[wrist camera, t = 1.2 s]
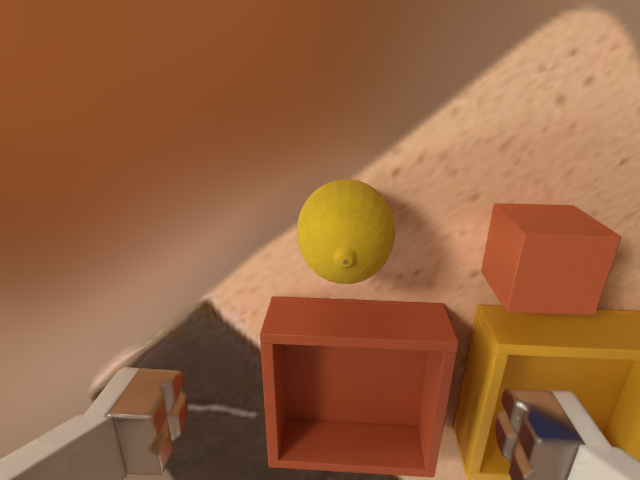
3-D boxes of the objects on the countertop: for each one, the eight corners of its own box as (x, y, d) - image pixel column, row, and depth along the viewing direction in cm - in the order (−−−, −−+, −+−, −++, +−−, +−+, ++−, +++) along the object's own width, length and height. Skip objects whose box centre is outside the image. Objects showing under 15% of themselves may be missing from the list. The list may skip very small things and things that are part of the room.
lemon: (296, 233, 28) (278, 295, 21) (315, 155, 26) (302, 194, 18) (373, 252, 28) (383, 320, 21) (399, 177, 26) (419, 224, 19)
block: (493, 203, 26) (524, 233, 22) (573, 205, 26) (622, 236, 21) (480, 271, 28) (506, 312, 24) (554, 273, 28) (595, 315, 23)
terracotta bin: (271, 296, 30) (259, 333, 26) (443, 303, 29) (459, 342, 25) (277, 420, 35) (268, 467, 31) (424, 428, 35) (434, 478, 30)
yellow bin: (477, 304, 29) (498, 344, 25) (659, 311, 29) (711, 353, 24) (452, 429, 34) (467, 480, 30) (606, 438, 34) (642, 491, 30)
